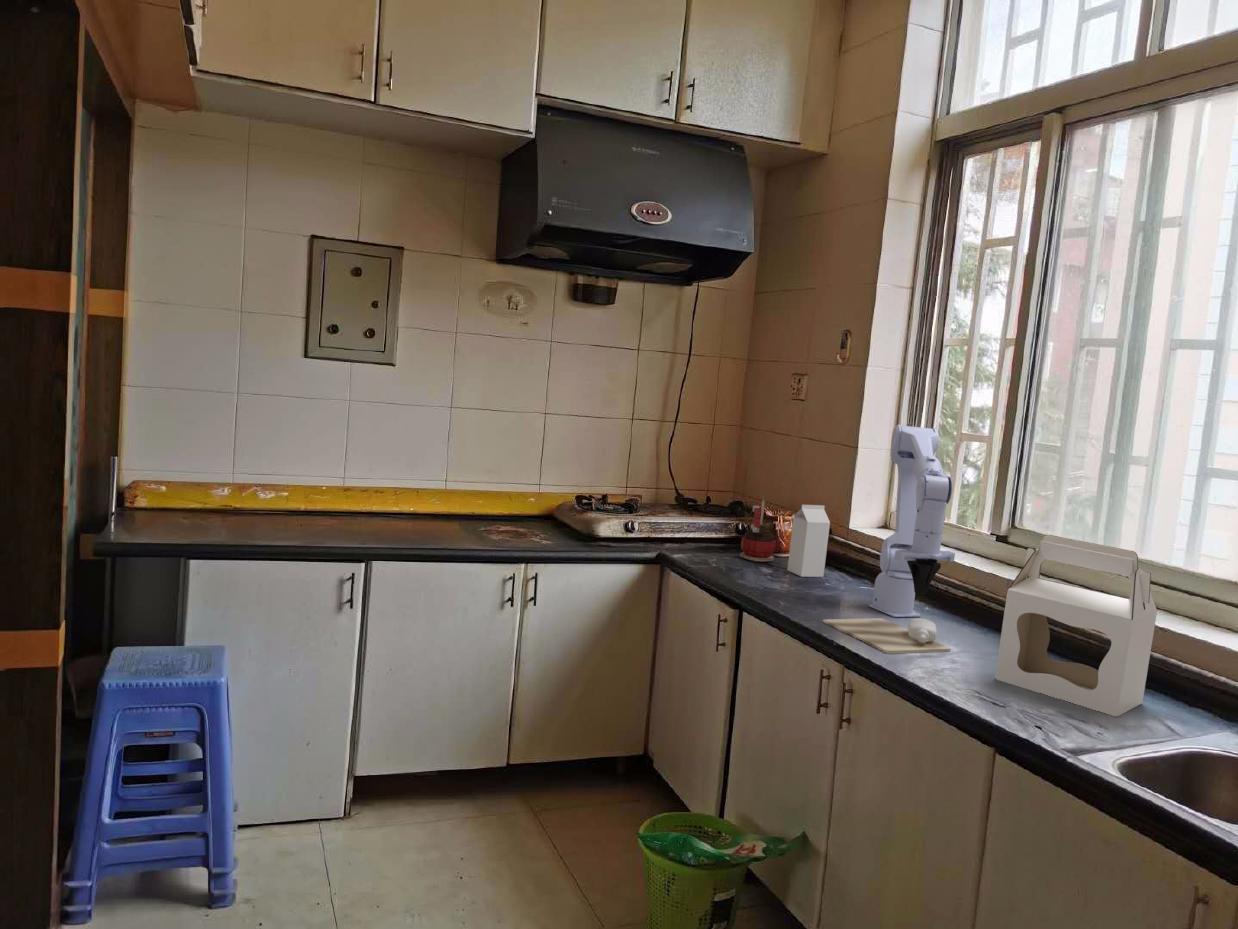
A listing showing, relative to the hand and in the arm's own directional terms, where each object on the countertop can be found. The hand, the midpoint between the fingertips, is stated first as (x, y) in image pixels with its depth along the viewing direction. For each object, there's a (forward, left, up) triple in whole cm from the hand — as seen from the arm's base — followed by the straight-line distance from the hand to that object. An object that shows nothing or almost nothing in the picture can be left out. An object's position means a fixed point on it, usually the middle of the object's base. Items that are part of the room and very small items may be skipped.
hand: (919, 593), depth 206 cm
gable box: (+35, +6, -10) cm, 37 cm away
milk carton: (-55, +9, -9) cm, 57 cm away
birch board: (0, -8, -9) cm, 12 cm away
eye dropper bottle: (0, +1, -7) cm, 7 cm away
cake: (-72, +4, -9) cm, 73 cm away
